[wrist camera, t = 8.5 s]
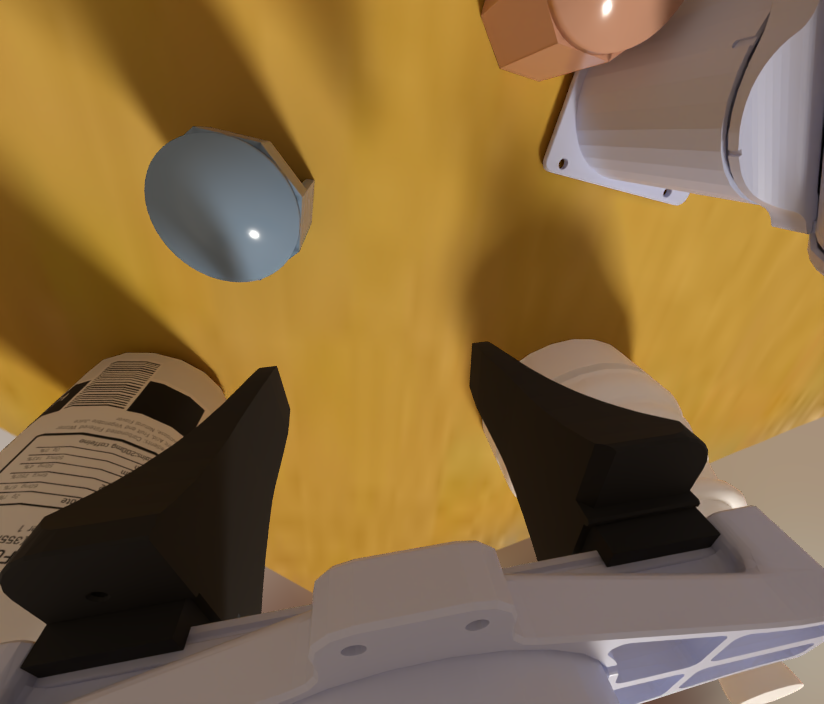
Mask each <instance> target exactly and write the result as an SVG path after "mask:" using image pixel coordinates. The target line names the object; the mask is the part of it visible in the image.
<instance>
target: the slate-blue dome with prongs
mask: <svg viewBox="0 0 824 704" xmlns="http://www.w3.org/2000/svg"><path fill="white" fill-rule="evenodd" d="M144 191H145V201H146V206H147V210H148V213H149V216H150V219H151V221H152V223H153V225H154V227H155V229H156V231H157V233H158V234H159V236H160V237H161V239H162V240H163V242H164V243H165V244H166V245H167V247H168V248H169V249H170V250H171V251H172V252H173V253H174V254H175V255H176V256H177V257H179V258H180V259H181V260H182V261H183V262H185V263H186V264H188V265H189V266H190V267H192V268H194V269H195V270H197V271H199V272H201V273H203V274H205V275H208V276H210V277H213V278H216V279H220V280H224V281H230V282H249V281H255V280H261V279H263V278H265V277H267V276H269V275H271V274H273V273H274V272H276V271H277V270H279V269H280V268H281V267H282V266H283V265H284V264H285V263H286V262H287V260H288V259H290V258H291V257H292V256H294V255H295V254H297V253H298V252H299V251H300V249H301V247H302V244H303V242H304V239H305V237H306V235H307V232H308V230H309V228H310V225H311V223H312V208H313V194H314V180H311V179H305V180H304V181H303V182H302V183H301V182H300V180H299V179H298V178H297V176H296V175H295V174H294V172H293V171H292V170H291V168H290V167H289V166H288V164H287V163H286V162H285V160H284V159H283V158H282V156H281V155H280V154H279V152H278V151H277V150H276V148H275V147H274V146H273V144H272V143H271V142H270V141H266V140H262V139H258V138H254V137H249V136H245V135H241V134H237V133H233V132H228V131H224V130H220V129H216V128H212V127H197V126H193V127H192V128H191V129H190V130H189V131H188V132H187V133H185V134H184V135H183V136H180V137H178V138H176V139H174V140H172V141H170V142H169V143H167V144H166V145H165V146H163V147H162V148H161V149H160V150H159V151H158V152H157V153H156V155H155V156H154V158H153V159H152V161H151V163H150V165H149V168H148V170H147V174H146V179H145V190H144Z"/></svg>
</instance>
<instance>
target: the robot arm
mask: <svg viewBox="0 0 824 704" xmlns="http://www.w3.org/2000/svg"><path fill="white" fill-rule="evenodd" d="M561 159H564V165H563V167H562V168H560V169H559V166H558V165H559V162H560V160H561ZM543 167H544V169H545V170H546V171H548V172H551V173H555V174H559V175H563V176H566V177H570V178H574V179H578V180H581V181H585V182H589V183H593V184H596V185H600V186H604V187H608V188H611V189H615V190H619V191H623V192H626V193H630V194H634V195H638V196H642V197H645V198H649V199H653V200H657V201H660V202H664V203H668V204H672V205H680V204H682V203H683V202H684V201H685V200H686V199H687V197H688V195H689V194H690V193H694V194H700V195H706V196H711V197H717V198H723V199H729V200H734V201H740V202H746V203H752V204H757V205H761V206H763V207H764V208H766V210H767V211H768V212H769V214H770V217H771V225H772V226H773V227H778V228H782V229H787V230H791V231H796V232H801V233H805V234H809V241H808V249H807V250H808V254H809V259H810V261H811V262H812V264H813V265H814V267H815V268H816V270H817V271H819V272H820V273H821V274H822V275H823V276H824V0H684V1H683V3H682V4H681V5H680V7H679V8H678V10H677V11H676V12H675V13H674V15H673V16H672V17H671V18H670V19H669V21H668V22H667V23H666V24H665V25H664V26H663V27H662V28H661V29H660V30H658V31H657V32H656V33H655V34H654V35H652V36H651V37H650V38H648V39H647V40H645V41H644V42H642V43H640V44H638V45H636V46H634V47H632V48H629V49H626V50H625V51H623V52H622V53H621V54H619V55H618V56H616V57H615V58H614V59H612V60H611V61H609V62H608V63H604V64H600V65H597V66H593V67H589V68H586V69H582V70H579V71H575V74H574V76H573V79H572V82H571V85H570V87H569V90H568V93H567V96H566V99H565V101H564V104H563V107H562V110H561V112H560V115H559V118H558V121H557V123H556V126H555V129H554V132H553V135H552V137H551V140H550V143H549V146H548V148H547V151H546V154H545V157H544V160H543ZM666 189H667V191H666V193H665V195H663V193H664V191H665V190H666ZM470 389H471V392H472V395H473V398H474V401H475V404H476V407H477V409H478V411H479V413H480V415H481V417H482V419H483V421H484V423H485V425H486V427H487V429H488V431H489V433H490V435H491V437H492V439H493V441H494V443H495V445H496V447H497V449H498V451H499V453H500V455H501V457H502V459H503V462H504V464H505V466H506V469H507V472H508V474H509V477H510V480H511V482H512V485H513V488H514V490H515V493H516V496H517V499H518V502H519V505H520V507H521V510H522V513H523V516H524V519H525V522H526V525H527V528H528V532H529V535H530V538H531V541H532V544H533V547H534V550H535V554H536V557H537V560H538V561H537V562H532V563H527V564H521V565H516V566H511V567H506V568H501V566H500V563H499V560H498V557H497V554H496V551H495V549H494V548H492V547H490V546H488V545H485V544H483V543H481V542H478V541H454V542H448V543H442V544H437V545H431V546H426V547H420V548H414V549H409V550H403V551H397V552H392V553H386V554H381V555H375V556H369V557H364V558H358V559H353V560H350V561H347V562H344V563H341V564H338V565H335V566H332V567H331V568H330V569H329V570H328V571H326V572H325V573H324V574H323V575H321V576H320V577H319V578H318V579H317V580H316V581H315V584H314V591H313V600H312V601H313V602H312V604H309V605H304V606H299V607H294V608H288V609H283V610H278V611H273V612H267V613H262V614H261V609H262V592H263V580H264V569H265V557H266V548H267V539H268V530H269V522H270V514H271V506H272V499H273V494H274V489H275V485H276V481H277V477H278V473H279V469H280V465H281V461H282V457H283V452H284V448H285V444H286V440H287V435H288V428H289V417H290V407H289V404H288V401H287V397H286V394H285V391H284V388H283V384H282V381H281V378H280V375H279V371H278V368H277V366H273V367H264V368H259V369H258V370H257V371H255V372H254V373H253V374H252V375H251V376H250V377H249V378H248V379H247V380H246V381H245V382H244V383H243V384H242V385H241V386H240V387H239V388H238V389H237V390H236V391H235V392H234V393H233V394H232V395H231V396H230V397H229V398H228V399H227V400H226V401H225V402H224V403H223V404H222V405H221V406H220V407H219V408H217V409H216V410H215V411H214V412H213V413H212V414H211V415H210V416H209V417H207V418H206V419H205V420H204V421H203V422H202V423H201V424H199V425H198V426H197V427H196V428H194V429H193V430H192V431H191V432H189V433H188V434H187V435H185V436H184V437H183V438H181V439H180V440H179V441H177V442H176V443H175V444H173V445H172V446H170V447H169V448H167V449H166V450H164V451H163V452H161V453H160V454H158V455H157V456H155V457H154V458H152V459H151V460H149V461H148V462H146V463H145V464H143V465H142V466H140V467H138V468H137V469H135V470H133V471H132V472H130V473H128V474H126V475H125V476H123V477H121V478H120V479H118V480H116V481H114V482H112V483H111V484H109V485H107V486H105V487H103V488H101V489H100V490H98V491H96V492H94V493H92V494H90V495H88V496H86V497H84V498H82V499H80V500H78V501H76V502H74V503H72V504H70V505H68V506H66V507H64V508H62V509H60V510H58V511H56V512H53V513H51V514H49V515H47V516H45V517H44V518H43V519H42V520H41V521H40V523H39V524H38V525H37V526H36V528H35V529H34V530H33V531H32V533H31V534H30V535H29V536H28V538H27V539H26V540H25V541H24V543H23V544H22V545H21V546H20V548H19V549H18V550H17V552H16V553H15V554H14V555H13V557H12V558H11V559H10V560H9V562H8V563H7V564H6V565H5V567H4V568H3V569H2V570H1V572H0V585H1V588H2V591H3V593H4V594H5V595H7V596H8V597H9V598H10V599H11V600H12V601H13V602H15V603H16V604H18V605H19V606H21V607H22V608H24V609H25V610H27V611H28V612H29V613H31V614H32V615H34V616H35V617H37V618H38V619H40V620H41V621H43V622H44V623H45V624H47V625H46V626H45V628H44V629H43V631H42V633H41V634H40V636H39V638H38V639H37V641H36V642H35V641H30V640H14V641H8V642H3V643H0V704H641V703H644V702H647V701H651V700H654V699H657V698H660V697H663V696H666V695H669V694H672V693H676V692H679V691H682V690H685V689H688V688H691V687H694V686H697V685H701V684H704V683H707V682H710V681H713V680H717V679H720V678H723V677H727V676H730V675H733V674H736V673H740V672H743V671H747V670H751V669H754V668H758V667H761V666H765V665H769V664H773V663H776V662H780V661H784V660H788V659H792V658H796V657H800V656H802V655H804V654H805V653H807V652H809V651H810V650H812V649H813V648H815V647H816V646H818V645H819V644H821V643H822V642H824V568H823V567H822V566H821V565H819V564H818V563H817V562H816V561H815V560H814V559H813V558H812V557H810V555H808V554H807V553H806V552H805V551H804V550H803V549H802V548H801V547H800V546H799V545H798V544H796V543H795V542H794V541H793V540H792V539H791V538H790V537H789V536H788V535H787V534H786V533H785V532H783V531H782V530H781V529H780V528H779V527H778V526H777V525H776V524H775V523H774V522H773V521H771V520H770V519H769V518H768V517H767V516H766V515H765V514H764V513H763V512H762V511H761V510H759V509H758V508H757V507H756V506H752V505H750V506H745V507H739V508H734V509H728V510H723V511H718V512H715V513H713V514H711V515H709V516H708V517H707V518H706V517H705V516H704V515H703V514H702V513H701V512H700V511H699V510H698V509H697V508H696V507H698V506H699V505H700V501H699V499H698V498H697V497H696V496H695V495H694V494H693V493H692V492H691V491H690V490H691V488H692V486H693V485H694V483H695V482H696V480H697V478H698V477H699V475H700V474H701V472H702V470H703V469H704V467H705V464H706V462H707V458H708V449H707V447H706V445H705V443H704V442H703V441H701V440H700V439H699V438H698V437H697V436H696V435H695V434H693V433H692V432H691V431H690V430H689V429H688V428H687V427H685V426H684V425H683V424H682V423H681V422H680V421H677V420H672V419H668V418H663V417H658V416H654V415H649V414H645V413H641V412H637V411H633V410H630V409H626V408H623V407H619V406H616V405H613V404H609V403H606V402H603V401H601V400H598V399H595V398H592V397H589V396H587V395H584V394H582V393H579V392H577V391H574V390H572V389H570V388H568V387H565V386H563V385H561V384H559V383H557V382H555V381H553V380H551V379H549V378H547V377H545V376H543V375H541V374H540V373H538V372H536V371H534V370H533V369H531V368H529V367H528V366H526V365H524V364H523V363H521V362H519V361H518V360H516V359H515V358H513V357H512V356H510V355H509V354H507V353H505V352H504V351H502V350H501V349H499V348H498V347H496V346H495V345H493V344H491V343H490V342H479V343H472V355H471V372H470Z"/></svg>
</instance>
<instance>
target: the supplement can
mask: <svg viewBox="0 0 824 704" xmlns="http://www.w3.org/2000/svg"><path fill="white" fill-rule="evenodd" d="M225 401H226V398H225V396H224V394H223V392H222V390H221V388H220V387H219V386H218V385H217V384H216V383H215V382H214V381H213V380H212V379H211V378H210V377H209V376H208V375H207V374H206V373H204V372H203V371H201V370H199V369H197V368H195V367H193V366H192V365H190V364H188V363H186V362H184V361H182V360H179V359H175V358H171V357H168V356H164V355H160V354H156V353H124V354H121V355H117V356H114V357H111V358H107V359H104V360H102V361H101V362H100V363H98V364H97V365H96V366H95V367H94V368H92V369H91V370H90V371H89V372H87V373H86V374H85V375H84V376H83V377H82V378H81V379H80V380H79V381H78V382H76V383H75V384H74V385H73V386H72V387H71V388H70V389H69V390H68V391H67V392H65V393H64V394H63V395H62V396H61V397H60V398H59V399H58V400H57V401H56V402H55V403H53V404H52V405H51V406H50V407H49V408H48V409H47V410H46V411H45V412H44V413H42V414H41V415H40V416H39V417H38V418H37V419H36V420H35V421H34V422H33V423H31V424H30V425H29V426H28V427H27V428H26V429H25V430H24V431H23V432H22V433H21V434H19V435H18V436H17V437H16V438H15V439H14V440H13V441H12V442H11V443H10V444H8V445H7V446H6V447H5V448H4V449H3V450H2V451H1V452H0V572H1V570H2V569H3V568H4V567H5V565H6V564H7V563H8V562H9V560H10V559H11V558H12V557H13V555H14V554H15V553H16V552H17V550H18V549H19V548H20V546H21V545H22V544H23V543H24V541H25V540H26V539H27V538H28V536H29V535H30V534H31V533H32V531H33V530H34V529H35V528H36V526H37V525H38V524H39V523H40V521H41V520H42V519H43V518H44V517H45V516H47V515H49V514H51V513H53V512H56V511H58V510H60V509H62V508H64V507H66V506H68V505H70V504H72V503H74V502H76V501H78V500H80V499H82V498H84V497H86V496H88V495H90V494H92V493H94V492H96V491H98V490H100V489H101V488H103V487H105V486H107V485H109V484H111V483H112V482H114V481H116V480H118V479H120V478H121V477H123V476H125V475H126V474H128V473H130V472H132V471H133V470H135V469H137V468H138V467H140V466H142V465H143V464H145V463H146V462H148V461H149V460H151V459H152V458H154V457H155V456H157V455H158V454H160V453H161V452H163V451H164V450H166V449H167V448H169V447H170V446H172V445H173V444H175V443H176V442H177V441H179V440H180V439H181V438H183V437H184V436H185V435H187V434H188V433H189V432H191V431H192V430H193V429H194V428H196V427H197V426H198V425H199V424H201V423H202V422H203V421H204V420H205V419H206V418H207V417H209V416H210V415H211V414H212V413H213V412H214V411H215V410H216V409H217V408H219V407H220V406H221V405H222V404H223V403H224V402H225ZM46 625H47V624H45V623H44V622H43V621H41V620H40V619H38V618H37V617H35V616H34V615H32V614H31V613H29V612H28V611H27V610H25V609H24V608H22V607H21V606H19V605H18V604H16V603H15V602H13V601H12V600H11V599H10V598H9V597H8V596H7V595H5V594H4V593H3V591H2V588H1V585H0V643H3V642H8V641H14V640H30V641H35V642H36V641H37V639H38V638H39V636H40V634H41V633H42V631H43V629H44V628H45V626H46Z"/></svg>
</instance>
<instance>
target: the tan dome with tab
mask: <svg viewBox="0 0 824 704" xmlns="http://www.w3.org/2000/svg"><path fill="white" fill-rule="evenodd" d="M683 1H684V0H485V2H484V6H483V10H482V14H481V18H482V21H483V23H484V26H485V29H486V32H487V34H488V37H489V40H490V43H491V45H492V48H493V51H494V54H495V56H496V59H497V62H498V65H499V67H500V69H503V70H506V71H509V72H512V73H515V74H518V75H521V76H524V77H527V78H530V79H533V80H536V81H538V82H539V81H542V80H546V79H550V78H553V77H557V76H560V75H564V74H568V73H571V72H575V71H579V70H582V69H586V68H589V67H593V66H597V65H600V64H604V63H608V62H609V61H611V60H612V59H614V58H615V57H616V56H618V55H619V54H621V53H622V52H623V51H625V50H626V49H629V48H632V47H634V46H636V45H638V44H640V43H642V42H644V41H645V40H647V39H648V38H650V37H651V36H652V35H654V34H655V33H656V32H657V31H658V30H660V29H661V28H662V27H663V26H664V25H665V24H666V23H667V22H668V21H669V19H670V18H671V17H672V16H673V15H674V13H675V12H676V11H677V10H678V8H679V7H680V5H681V4H682V3H683Z"/></svg>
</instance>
